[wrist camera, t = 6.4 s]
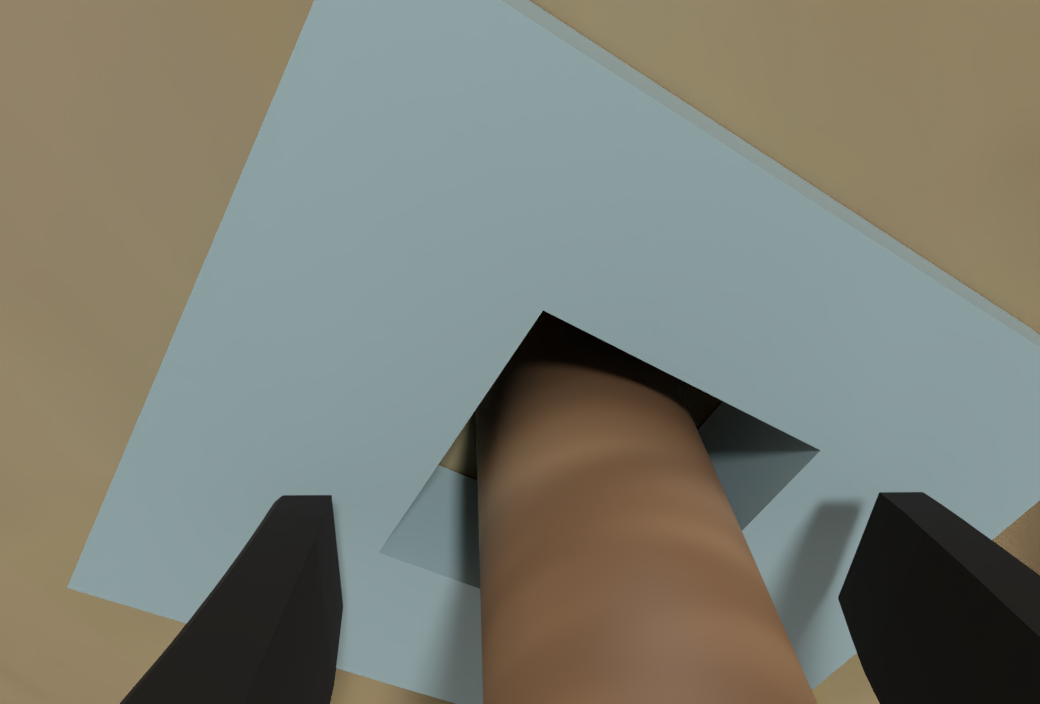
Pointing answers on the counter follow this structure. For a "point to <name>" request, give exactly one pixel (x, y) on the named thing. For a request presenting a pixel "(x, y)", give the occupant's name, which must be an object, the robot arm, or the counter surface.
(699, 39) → the counter surface
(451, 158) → the board
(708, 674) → the peg
